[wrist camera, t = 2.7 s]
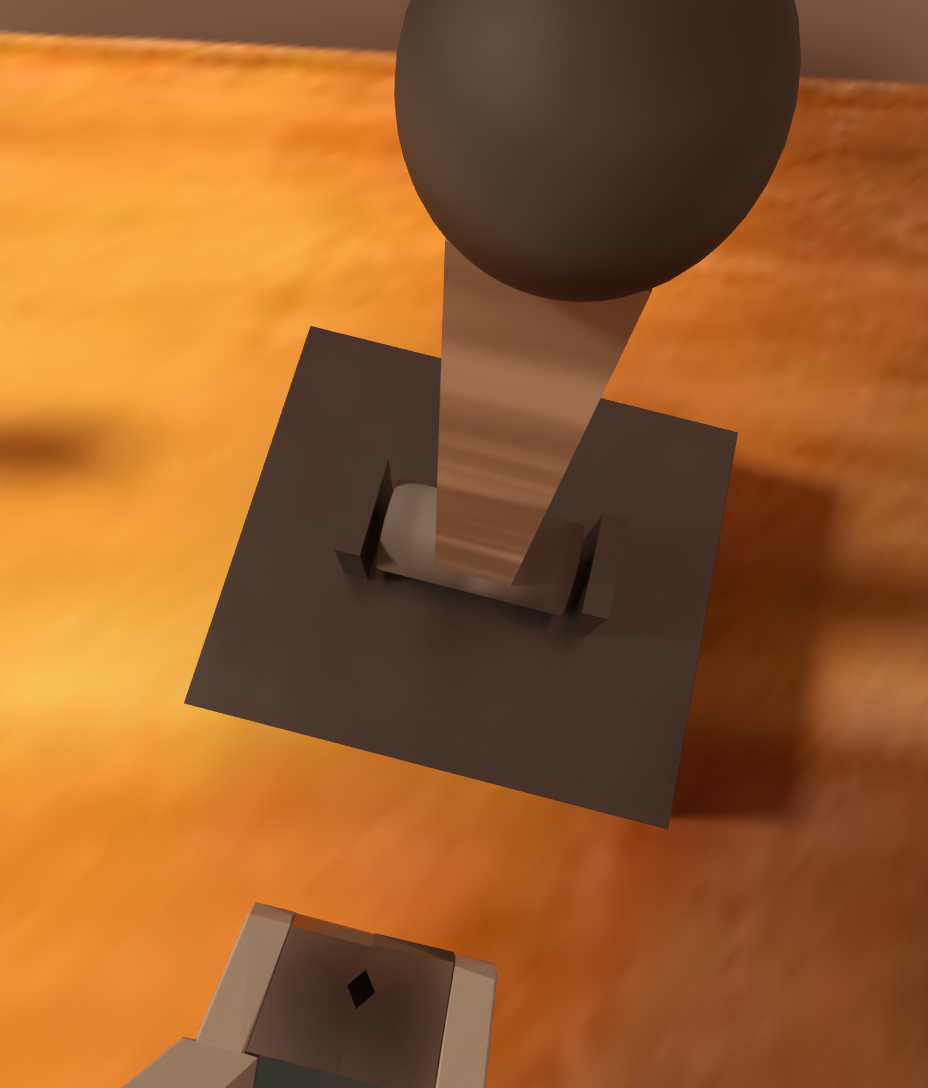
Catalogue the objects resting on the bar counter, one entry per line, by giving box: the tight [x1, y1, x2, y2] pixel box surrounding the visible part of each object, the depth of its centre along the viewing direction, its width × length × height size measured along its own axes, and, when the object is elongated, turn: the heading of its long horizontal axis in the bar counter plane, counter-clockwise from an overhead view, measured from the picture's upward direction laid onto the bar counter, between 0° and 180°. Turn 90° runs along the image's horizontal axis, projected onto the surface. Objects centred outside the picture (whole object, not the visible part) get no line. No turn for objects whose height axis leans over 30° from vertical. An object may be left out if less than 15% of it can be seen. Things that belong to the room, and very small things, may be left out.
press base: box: [184, 326, 738, 829], centre depth 29 cm, size 14×16×9 cm
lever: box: [377, 0, 801, 616], centre depth 17 cm, size 4×6×22 cm, turn 76°
